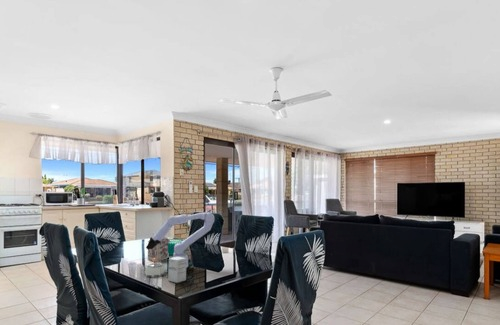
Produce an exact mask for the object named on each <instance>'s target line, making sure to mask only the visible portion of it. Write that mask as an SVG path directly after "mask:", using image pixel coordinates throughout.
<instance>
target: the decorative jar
mask: <svg viewBox="0 0 500 325" xmlns="http://www.w3.org/2000/svg"><path fill="white" fill-rule="evenodd" d="M151 237H152V236H151ZM152 238H154V236H153V237H152ZM149 241H150V239H149V240H148V242H147V244H148V243H149ZM160 242H161V243H159V244H157V245H156V246H155V247H154V248H152V249H149V250H148V249H147V260H149V261H152V258H158V262H160V261H161V260H162V261H165V260H164V259H166V260H168V259H167V258H168V257H169V253H168V244H169V242H170V243H171V241H170V239H169V238H168V237H167V236H164V238H163V239H162V240H161V241H160ZM169 258H170V257H169Z"/></svg>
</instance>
